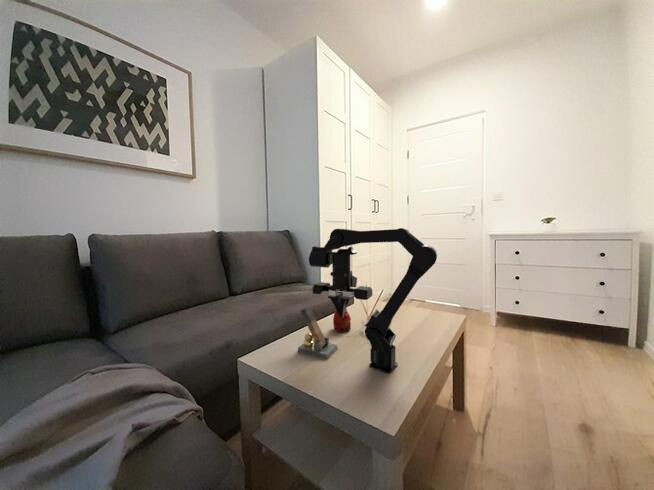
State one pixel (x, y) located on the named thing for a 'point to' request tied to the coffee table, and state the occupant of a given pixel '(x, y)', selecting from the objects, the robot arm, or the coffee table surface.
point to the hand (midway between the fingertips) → (341, 317)
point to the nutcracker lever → (313, 325)
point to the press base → (317, 347)
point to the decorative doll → (342, 322)
